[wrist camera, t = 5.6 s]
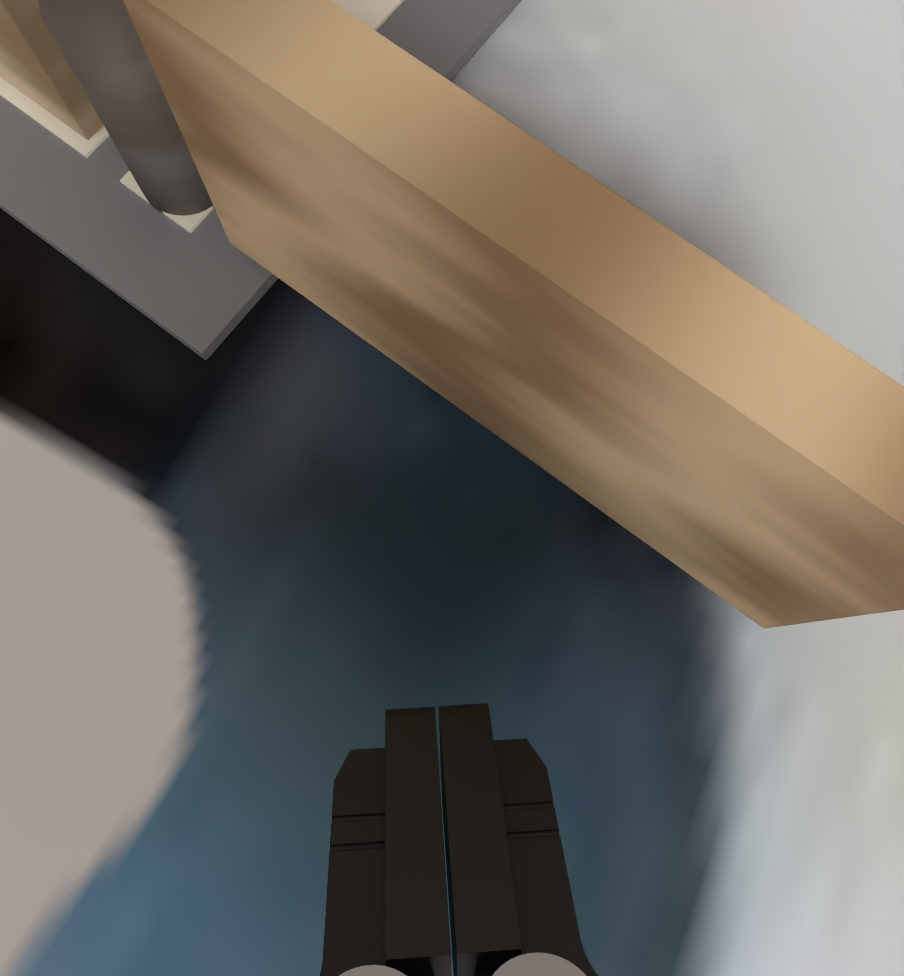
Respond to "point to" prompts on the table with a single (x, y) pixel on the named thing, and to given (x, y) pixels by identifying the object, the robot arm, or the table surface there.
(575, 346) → the folding section
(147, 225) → the card
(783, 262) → the table surface
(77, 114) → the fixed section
